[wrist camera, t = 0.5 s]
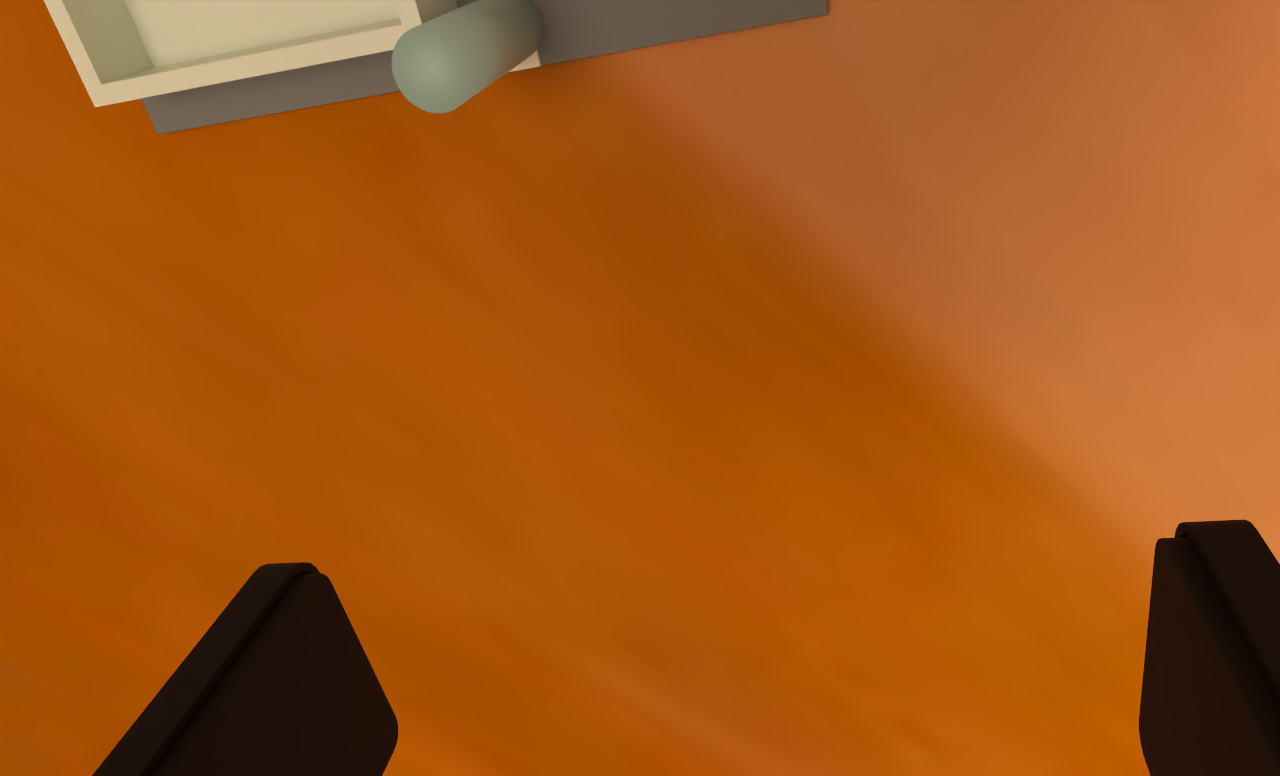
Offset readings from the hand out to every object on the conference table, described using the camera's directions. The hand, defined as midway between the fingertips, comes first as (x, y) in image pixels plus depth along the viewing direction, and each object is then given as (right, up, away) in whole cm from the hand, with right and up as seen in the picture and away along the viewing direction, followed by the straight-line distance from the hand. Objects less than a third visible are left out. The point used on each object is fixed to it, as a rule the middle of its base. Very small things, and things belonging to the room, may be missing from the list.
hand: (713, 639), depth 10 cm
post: (-5, +16, +22) cm, 28 cm away
